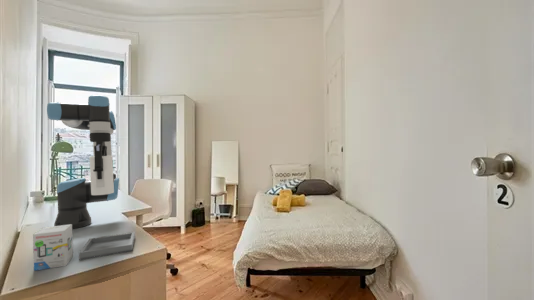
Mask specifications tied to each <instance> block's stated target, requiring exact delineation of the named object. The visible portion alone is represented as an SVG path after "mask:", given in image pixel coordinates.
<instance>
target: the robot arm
mask: <svg viewBox="0 0 534 300" xmlns="http://www.w3.org/2000/svg"><path fill="white" fill-rule="evenodd" d="M87 100H88V101H87V103H74V102H59V101H56V102H52V101H51V102H48V103H47V105H46V114H47V118H48V120H50V121H61V122H62V124H63V125H65V126H67V127H68V128H71V129H75V130H82V131H89V142H91V143H93V144H92V146H93V149H92V151H93V156H95V168H94V169H95V170H93V171H94V172H96V188H97V187H104V171H103V158H102V156H112V157H113V155H112V137H111V135H113V134H114V131H115V130H117V123H116V118H115V114H114V112H113V111H112V110H110V99H109V97H108V96H105V95H98V94H97V95H96V94H94V95H93V94H92V95H89V96H88V99H87ZM113 182H114V193H111V194H106V195H91V179H89V180H87V179H86V177H81V178H74V179H69V180H65V181H61V182H59V183H58V184H57V186H56V187H57V188H56V190H57V191H56V195H57V197H56V198H57V215H56V218H55V221H54V222H53V223H54V224H53V226H61V225H69V224H72V230H73V229H79V228H84V227H86V226H88V225H91V224H92V217H91V214H90V213H89V211H88V206H87V205H88V204H89V203H90V204H91V203H100V202H109V201H114V200H116V199H117V198H118V195H119V185H120V178H119V177H117V175H116V174H115V172H113Z"/></svg>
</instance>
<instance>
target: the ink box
mask: <svg viewBox="0 0 534 300" xmlns="http://www.w3.org/2000/svg"><path fill="white" fill-rule="evenodd" d="M32 241H33V242H32V245H33V247H32V249H33V271H42V270H47V269H53V268H58V267H60V268H61V267H65V266H68V264H69V263H70V262H71V260H72V258H73V257H74V249H73V248H74V247H73V245H74V244H73V229H72V224H69V225H61V226H54V225H53V226H47V227H45V226H44V227H42V228H40V229H39V230H38V231H36V232H34V234H32Z"/></svg>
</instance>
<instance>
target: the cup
mask: <svg viewBox="0 0 534 300" xmlns="http://www.w3.org/2000/svg"><path fill="white" fill-rule="evenodd" d="M102 158H103V171H104V187H97V188H96V172H94V171H93V170H95V169H94V168H95V156H94V155H91V156H89V173H90V174H89V176H90V180H91V195H106V194H111V193H114V182H113V173H114V163H113V155H112V156H102Z"/></svg>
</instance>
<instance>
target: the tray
mask: <svg viewBox="0 0 534 300" xmlns="http://www.w3.org/2000/svg"><path fill="white" fill-rule="evenodd" d="M135 239H136V232H135V231H132V232H126V233H120V234H119V233H118V234H112V235H105V236H99V237H92V238H91V237H90V238H89V239H88V240H87V241H86V243H85V244H84V245H83V247H82V248H81V250H79V252H78V260H79V261H83V260H88V259H93V258H99V256H100V257H105V256H110V255H116V254H122V253H123V254H125V253H128V252H133V249H134V244H135Z"/></svg>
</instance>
